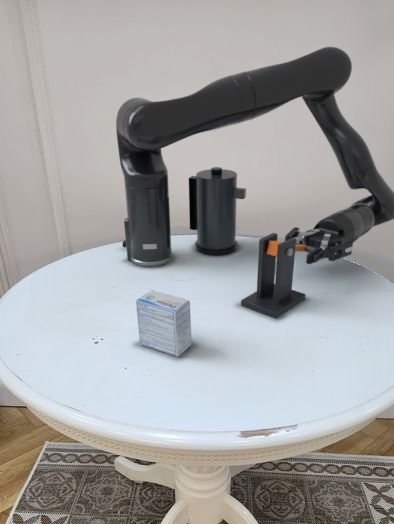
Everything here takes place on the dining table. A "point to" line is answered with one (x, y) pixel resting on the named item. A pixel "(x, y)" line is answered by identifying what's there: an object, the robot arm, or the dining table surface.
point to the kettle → (214, 210)
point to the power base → (279, 294)
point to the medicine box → (164, 322)
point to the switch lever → (274, 244)
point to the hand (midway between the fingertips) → (295, 255)
